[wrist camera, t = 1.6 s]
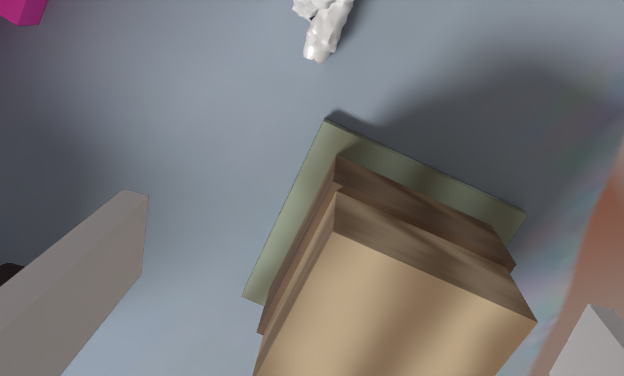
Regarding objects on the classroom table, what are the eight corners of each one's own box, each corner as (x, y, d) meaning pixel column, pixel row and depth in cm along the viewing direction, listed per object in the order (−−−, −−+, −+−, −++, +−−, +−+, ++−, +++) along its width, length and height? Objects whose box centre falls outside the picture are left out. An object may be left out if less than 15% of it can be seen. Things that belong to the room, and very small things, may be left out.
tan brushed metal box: (243, 290, 43) (201, 401, 31) (324, 118, 36) (309, 174, 24) (415, 363, 44) (438, 496, 32) (523, 210, 38) (603, 307, 26)
